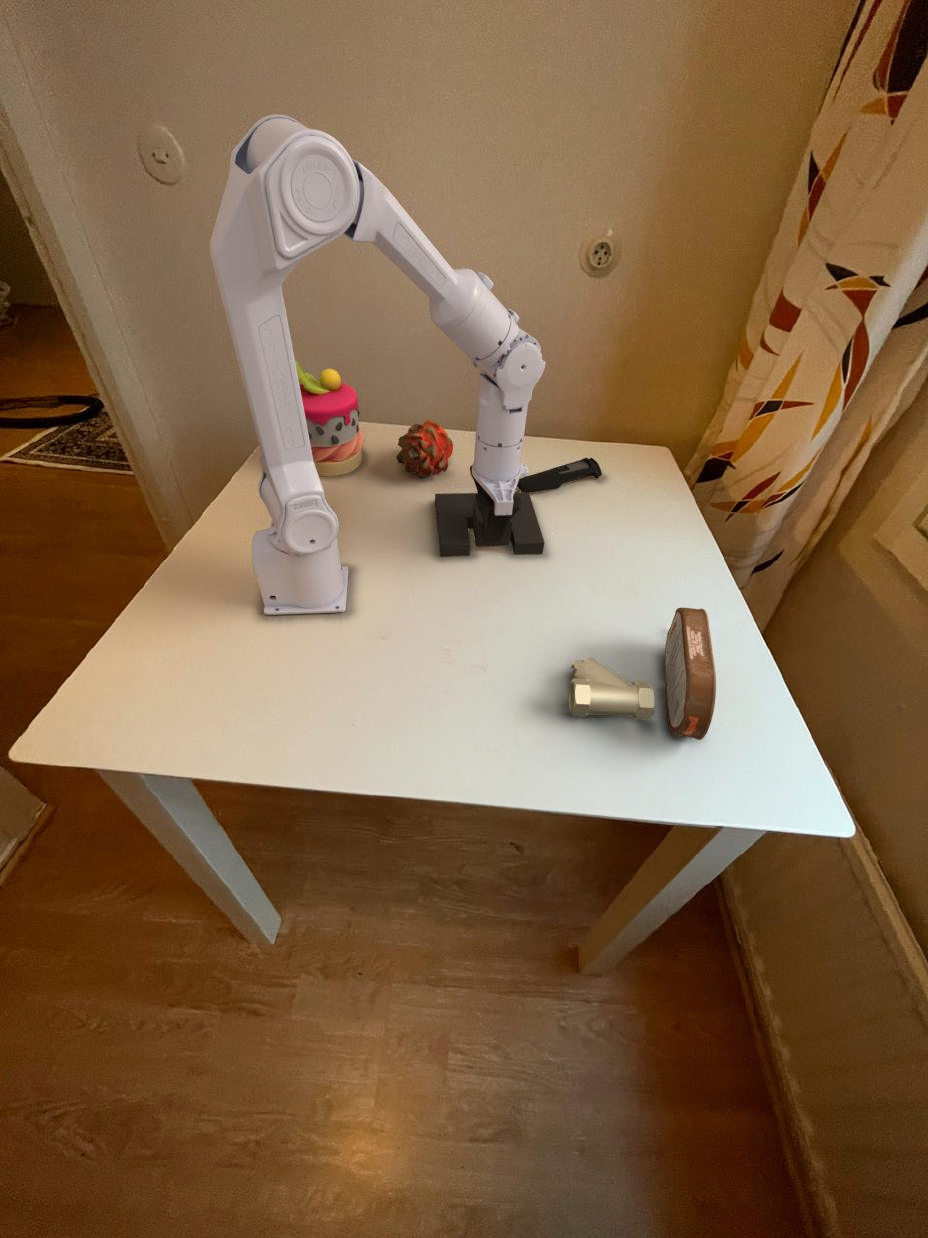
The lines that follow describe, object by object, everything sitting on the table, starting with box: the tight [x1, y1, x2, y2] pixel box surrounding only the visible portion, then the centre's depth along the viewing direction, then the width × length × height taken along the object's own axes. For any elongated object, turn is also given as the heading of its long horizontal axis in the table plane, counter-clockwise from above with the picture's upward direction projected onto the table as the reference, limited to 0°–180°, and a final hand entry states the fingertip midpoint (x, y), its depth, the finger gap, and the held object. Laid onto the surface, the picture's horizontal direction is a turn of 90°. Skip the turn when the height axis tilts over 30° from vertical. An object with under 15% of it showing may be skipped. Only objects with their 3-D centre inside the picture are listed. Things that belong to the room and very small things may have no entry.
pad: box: [472, 503, 512, 548], centre depth 76 cm, size 5×5×4 cm
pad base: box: [434, 491, 546, 558], centre depth 79 cm, size 14×12×2 cm
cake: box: [295, 360, 365, 477], centre depth 85 cm, size 10×11×15 cm
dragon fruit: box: [396, 419, 454, 479], centre depth 87 cm, size 8×8×12 cm
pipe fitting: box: [567, 657, 655, 721], centre depth 59 cm, size 8×4×7 cm
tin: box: [664, 607, 717, 741], centre depth 58 cm, size 15×3×8 cm, turn 168°
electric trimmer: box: [516, 457, 603, 494], centre depth 88 cm, size 4×16×3 cm, turn 118°
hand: (490, 527), depth 76 cm, fingers closed on pad, 5 cm apart
